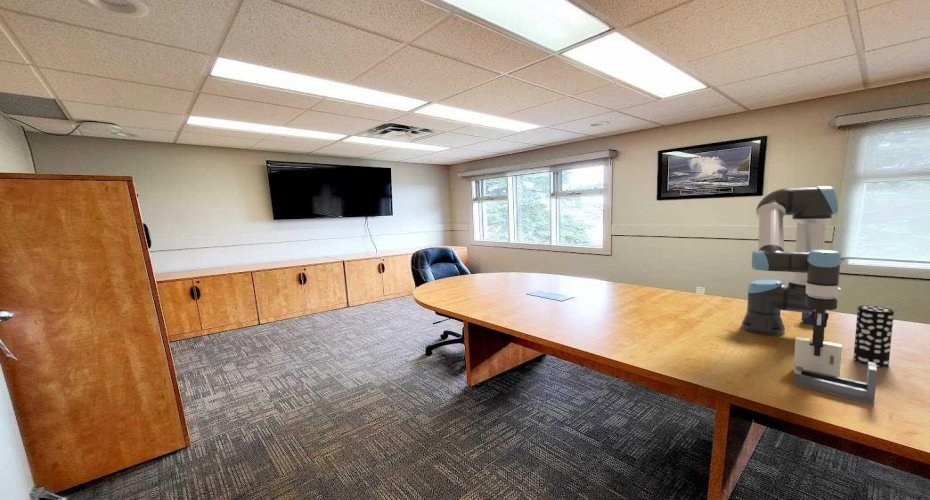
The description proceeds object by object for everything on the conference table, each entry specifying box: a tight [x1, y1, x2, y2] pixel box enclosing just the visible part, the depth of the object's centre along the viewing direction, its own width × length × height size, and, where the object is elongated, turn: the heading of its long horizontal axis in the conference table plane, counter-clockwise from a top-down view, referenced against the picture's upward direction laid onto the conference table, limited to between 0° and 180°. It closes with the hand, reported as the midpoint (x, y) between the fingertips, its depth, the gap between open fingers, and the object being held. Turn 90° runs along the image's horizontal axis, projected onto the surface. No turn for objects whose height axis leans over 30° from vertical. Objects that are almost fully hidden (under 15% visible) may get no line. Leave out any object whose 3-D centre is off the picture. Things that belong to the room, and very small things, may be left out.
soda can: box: [801, 312, 813, 326], centre depth 162 cm, size 7×7×12 cm
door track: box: [793, 362, 878, 406], centre depth 108 cm, size 17×7×11 cm, turn 42°
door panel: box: [793, 336, 843, 377], centre depth 117 cm, size 11×3×12 cm, turn 42°
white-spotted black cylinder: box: [853, 305, 895, 368], centre depth 123 cm, size 8×8×20 cm
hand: (816, 362), depth 118 cm, fingers closed on door panel, 3 cm apart
